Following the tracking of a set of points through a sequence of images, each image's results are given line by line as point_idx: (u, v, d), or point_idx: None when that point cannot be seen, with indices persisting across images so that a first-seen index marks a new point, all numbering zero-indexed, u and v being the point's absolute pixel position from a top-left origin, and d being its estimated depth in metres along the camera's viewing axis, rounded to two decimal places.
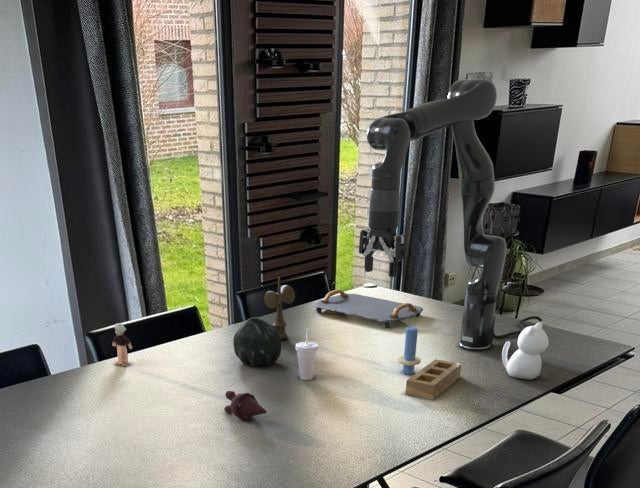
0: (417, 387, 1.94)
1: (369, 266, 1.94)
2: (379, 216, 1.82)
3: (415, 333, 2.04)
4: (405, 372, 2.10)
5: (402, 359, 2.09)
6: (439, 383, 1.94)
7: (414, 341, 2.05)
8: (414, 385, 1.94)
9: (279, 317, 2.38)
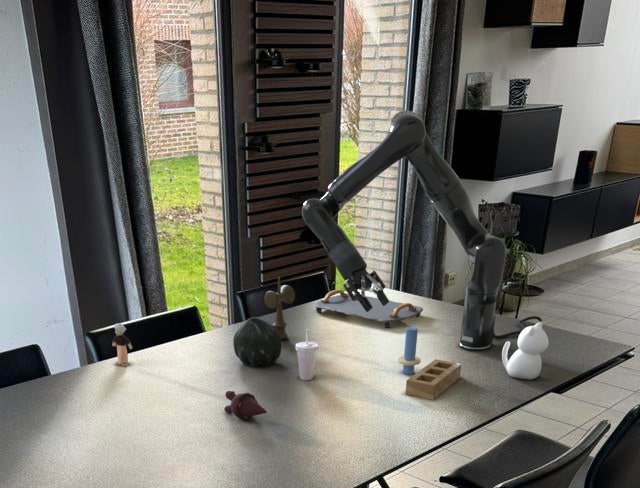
0: (417, 387, 1.94)
1: (382, 300, 2.12)
2: None
3: (415, 333, 2.04)
4: (405, 372, 2.10)
5: (402, 359, 2.09)
6: (439, 383, 1.94)
7: (414, 341, 2.05)
8: (414, 385, 1.94)
9: (279, 317, 2.38)
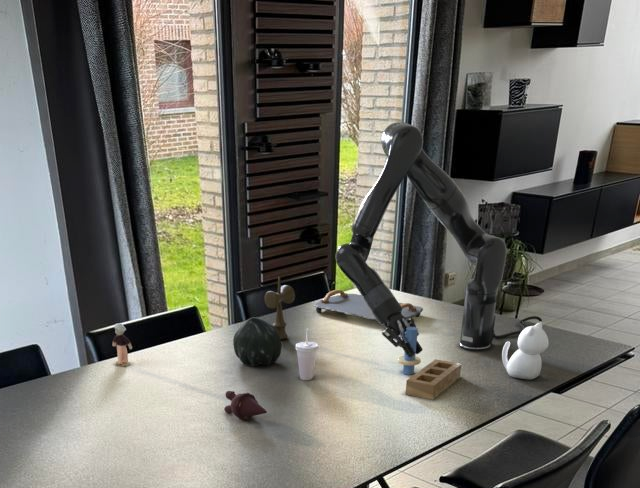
0: (417, 387, 1.94)
1: (416, 349, 2.08)
2: (375, 316, 2.09)
3: (415, 333, 2.04)
4: (405, 372, 2.10)
5: (402, 359, 2.09)
6: (439, 383, 1.94)
7: (414, 341, 2.05)
8: (414, 385, 1.94)
9: (279, 317, 2.38)
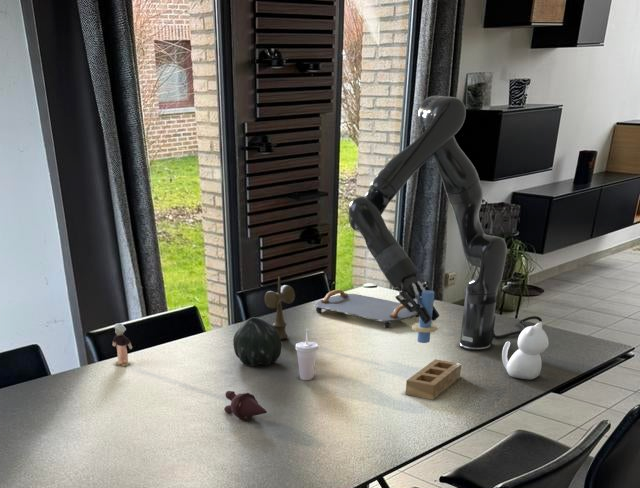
0: (417, 387, 1.94)
1: (432, 314, 1.92)
2: (387, 279, 1.93)
3: (432, 297, 1.88)
4: (420, 340, 1.94)
5: (417, 325, 1.93)
6: (439, 383, 1.94)
7: (430, 306, 1.89)
8: (414, 385, 1.94)
9: (279, 317, 2.38)
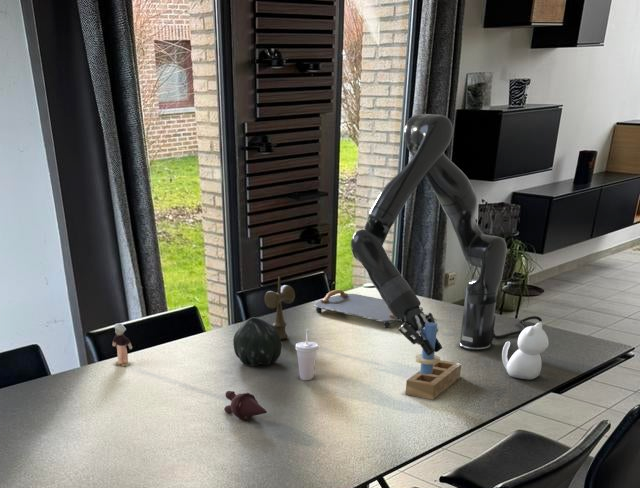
0: (417, 387, 1.94)
1: (435, 346, 1.92)
2: None
3: (435, 329, 1.88)
4: (423, 372, 1.94)
5: (420, 357, 1.93)
6: (439, 383, 1.94)
7: (433, 338, 1.89)
8: (414, 385, 1.94)
9: (279, 317, 2.38)
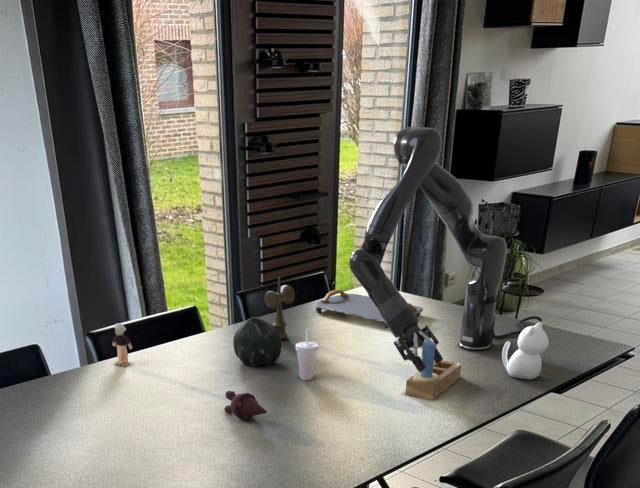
0: (417, 387, 1.94)
1: (436, 358, 1.96)
2: None
3: (432, 348, 1.90)
4: None
5: (418, 375, 1.95)
6: (439, 383, 1.94)
7: (431, 356, 1.91)
8: (414, 385, 1.94)
9: (279, 317, 2.38)
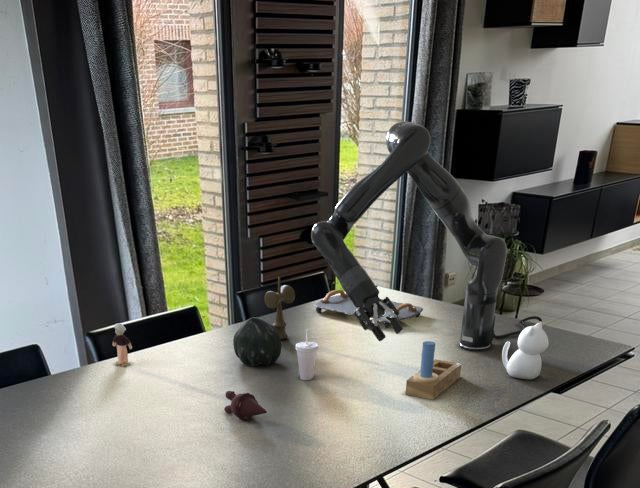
0: (417, 387, 1.94)
1: (396, 328, 2.00)
2: None
3: (432, 348, 1.90)
4: None
5: (418, 375, 1.95)
6: (439, 383, 1.94)
7: (431, 356, 1.91)
8: (414, 385, 1.94)
9: (279, 317, 2.38)
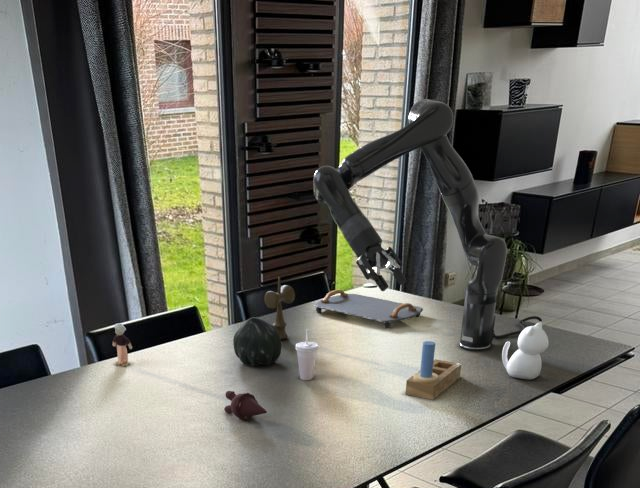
0: (417, 387, 1.94)
1: (399, 279, 1.94)
2: None
3: (432, 348, 1.90)
4: None
5: (418, 375, 1.95)
6: (439, 383, 1.94)
7: (431, 356, 1.91)
8: (414, 385, 1.94)
9: (279, 317, 2.38)
